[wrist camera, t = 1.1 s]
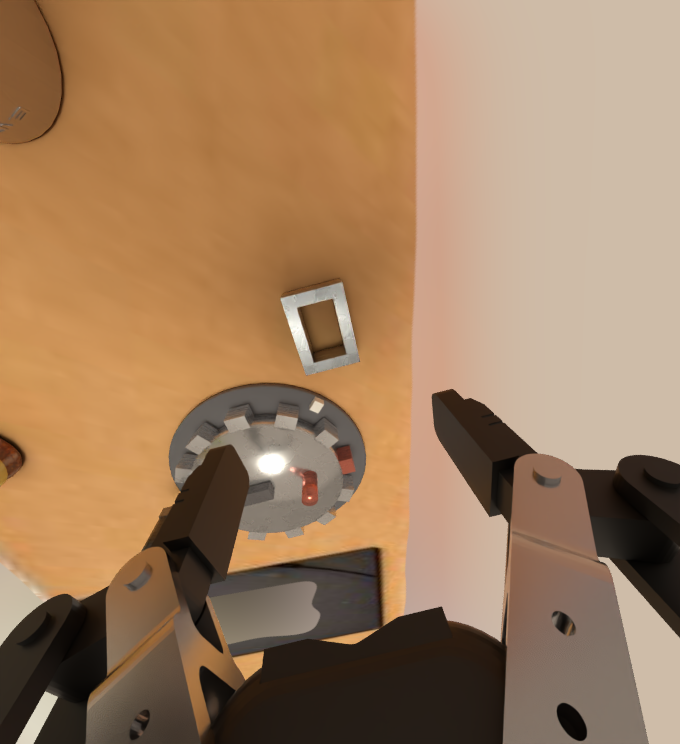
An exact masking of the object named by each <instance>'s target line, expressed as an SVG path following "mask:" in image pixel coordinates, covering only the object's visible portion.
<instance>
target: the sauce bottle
mask: <svg viewBox="0 0 680 744" xmlns="http://www.w3.org/2000/svg"><path fill="white" fill-rule="evenodd" d="M21 466H22V458H21V455H20V453H19V452H18V451H17V450H16V449H15V448H14V447H13V446H12V445H11V444H9V443H8V442H6V441H4V440H3V439H1V438H0V486H2V485H3V484H4V483H5V482H6V480H7V479H9V478H10V477H12V476H13V475H14V474H16V472H17V471H18V470H19V469H20V467H21Z"/></svg>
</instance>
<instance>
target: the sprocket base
mask: <svg viewBox="0 0 680 744" xmlns="http://www.w3.org/2000/svg"><path fill="white" fill-rule="evenodd" d="M279 403H282V404H288V405H293V406H298V407H299V412H298V419H300V420H302V421H305V422H307V423H309V424H311V425H313V426H315V425H316V424H317V423H318V422H319V421H320V420H322V419H323V418H325V419H326V420H328V421H329V422H330V423H332V424H333V425H334V426H335V427H337V431H338V438H339V441H337V442H336V443H335V444H334V445H335V446H336V448H341V447H345V446H350V449H351V453H352V456H353V460H354V465H355V470H356V471H355V472H351V473H347V474H343V475H347V476H352V480H353V486H354V492H355V491H356V490H357V488H358V486H359V484H360V483H361V480H362V478H363V475H364V471H365V466H366V454H365V448H364V444H363V440H362V437H361V434H360V432H359V430H358V428H357V427H356V425H355V423H354V422H353V421H352V419H351V418H350V417H349V415H347V414H346V413H345V412H344V411H343V410H342V409H341V408H340V407H339V406H337V405H336V404H335V403H333V402H332V401H330V400H329V399H327V398H325V397H323V396H321V395H319V394H317V393H314V392H312V391H309V390H307V389H303V388H299V387H295V386H290V385H283V384H268V383H262V384H250V385H245V386H240V387H235V388H232V389H229V390H226V391H222V392H220V393H218V394H216V395H214V396H212V397H210V398H208V399H207V400H205V401H203V402H202V403H200V404H199V405H198V406H197V407H195V408H194V409H193V410H192V411H191V412H190V413H189V414H188V415H187V416H186V418H185V419H184V420H183V421H182V423H181V424H180V426H179V427H178V429H177V431H176V432H175V434H174V436H173V439H172V442H171V445H170V451H169V466H170V470H171V474H172V477H173V479H174V481H175V468H176V466H177V465H178V463H179V461H180V460H181V458H182V456H183V455H184V453H185V454H192V455H198V454H196V453H194V452H192V451H191V450H189V449H187V448H185V447H186V445H187V444H188V442H189V440H190V439H191V437H192V435H193V434H194V433H195V432H196V431H197V430H198V429H199V428H200V427H201V426H202V425H203V424H204V423H205V422H206V423H208V424H209V425H211V426H213V427H214V428H216V429H217V430H218V429H220V428H222V427H223V426H225V423H224V422H223V421H224V419H225V417H226V415H227V413H228V411H229V409H231V408H235V407H239V406H242V405H246V404H249V405H250V407H251V409H252V411H253V414H254V416H255V415H276V414H277V410H278V406H279ZM175 484H176V485H177V487H178V488H179V490H180V491H181V489H182V487H183V485H184V483H178V482H175ZM354 492H353V494H354ZM353 494H352V495H353ZM351 497H352V496H351ZM345 503H346V501H338V500H337V501H336V503H335V510H337V509H339V508H340V507H341V506H342V505H343V504H345ZM314 522H315V521H314Z"/></svg>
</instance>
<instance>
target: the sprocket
mask: <svg viewBox="0 0 680 744" xmlns="http://www.w3.org/2000/svg"><path fill="white" fill-rule="evenodd" d="M298 412H299V407H298V406H293V405H288V404H282V403H279V406H278V410H277V414H276V415H255V416H254V414H253V411H252V409H251V407H250V405H249V404H246V405H242V406H239V407H235V408H231V409H229V411H228V413H227V415H226V417H225V419H224V421H223V422H224V423H225V426H223V427H222V428H220V429H218V430H217V429H216V428H214V427H213V426H211V425H209V424H208V423H206V422H205V423H204V424H203V425H202V426H201V427H200V428H199V429H198V430H197V431H196V432H195V433H194V434H193V435H192V437H191V439H190V440H189V442H188V444H187V445H186V447H185V448H187V449H189V450H191V451H192V452H194V453H196V454H198V455H192V454H185V453H184V455H183V456H182V458H181V460H180V461H179V463H178V465H177V466H176V468H175V482H178V483H185V481H186V479H187V478H188V477H189V476H190V474H191V473H192V472H193V471H194V470H195V469H196V468H197V467H198V466H199V465H202V463H203V461H204V459H205V457H206V455H207V453H208V451H209V450H210V449H213V448H217V447H221V446H225V445H229V444H231V445H232V446H233V447H234V448H235V450H236V452H237V453H238V455H239V457H240V459H241V461H242V462H243V464H244V466H245V468H246V470H247V472H248V475H249V489H248V493H247V497H246V501H245V505H244V509H243V513H242V517H241V521H240V524H239V528H238V529H240V530H244V531H249V535H248V539H253V540H265V536H266V533H276V532H284V531H285V533H286V535H287V536H288V538H292V537H296V536H300V535H304V526H305V525H308V524H310V523H312V522H314V521H318V522H320V523H321V524H323V525H325V524H327V523H328V522H330V521H331V520H332V519H334V518H335V517H336V510H335V503H336V501H337V500H338V501H346V502H349V501H350V499H351V496H352V494H353V492H354V486H353V480H352V476H347V475H343V474H347V473H351V472H355V471H356V470H355V465H354V460H353V456H352V453H351V449H350V446H345V447H341V448H336V446H335V445H334V444H335V443H336V442H337V441H339V438H338V431H337V427H335V426H334V425H333V424H332V423H330V422H329V421H328V420H326V419H325V418H323V419H322V420H320V421H319V422H318V423H317V424H316V425H315V426H313V425H311V424H309V423H307V422H305V421H302V420H300V419H298ZM171 508H172V506H171V507H167V508H163V510H162V512H161V514H160V516H159V520H158V522H157V524H156V526H155V527H154V529H153V531H152V533H151V535H150V536H149V538H148V540H147V542H146V544H145V546H144V547H143V549H142V551H144V550H146V549H148V548H150V547H151V545H152V543H153V542H154V540H155V538H156V536H157V534H158V532H159V530H160V528H161V526H162V525H163V523H164V521H165V519H166V517H167V515H168V513H169V511H170V510H171ZM142 551H141V552H142Z"/></svg>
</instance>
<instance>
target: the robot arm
mask: <svg viewBox="0 0 680 744" xmlns="http://www.w3.org/2000/svg"><path fill="white" fill-rule="evenodd" d="M61 96H62V83H61V71H60V66H59V61H58V56H57V51H56V48H55V46H54V43H53V40H52V37H51V34H50V32H49V29H48V26H47V24H46V23H45V21H44V19H43V17H42V15H41V13H40V11H39V9H38V7H37V5H36V3H35V1H34V0H0V142H2V143H11V144H13V143H21V142H28V141H30V140H33V139H35V138H37V137H39V136H41V135H42V134H43V133H44V132H45V131H46V130H47V129H48V128H49V127H50V126H51V125H52V123H53V121H54V119H55V117H56V115H57V114H58V111H59V106H60V101H61ZM432 406H433V418H434V427H435V431H436V434H437V436H438V438H439V441H440V442H441V444H442V445H443V447H444V448H445V450H446V451H447V453H448V454H449V456H450V457H451V459H452V460H453V462H454V463H455V465H456V466H457V468H458V469H459V471H460V473H461V474H462V476H463V477H464V479H465V480H466V482H467V483H468V485H469V486H470V488H471V489H472V491H473V492H474V494H475V495H476V497H477V498H478V500H479V501H480V503H481V504H482V506H483V507H484V509H485V511H486V512H487V514H488V515H489V517H492V516H496V515H500V514H502V515H503V516H504V518H505V519H506V520H507V522H508V534H507V552H506V569H505V586H504V601H503V612H502V628H501V642H499V641H498V640H497V639H495V638H493V637H492V636H490V635H488V634H487V633H485V632H483V631H481V630H478V629H476V628H474V627H471V626H469V625H466V624H462V623H459V622H454V621H447V619H446V617H445V614H444V611H443V609H442V607H438V608H434V609H430V610H425V611H421V612H417V613H413V614H409V615H404V616H400V617H397V618H396V619H394V620H393V621H391V622H390V623H388V624H386V625H385V626H383V627H382V628H380V629H379V630H377V631H376V632H374V633H373V634H371V635H369V636H368V637H366V638H365V639H363V640H362V641H360V642H358V643H356V644H342V643H335V642H327V641H320V640H312V639H305V640H301V641H297V642H293V643H288V644H284V645H280V646H276V647H272V648H268V649H264V656H263V664H262V668H260V669H259V670H258V671H256V672H255V673H254V674H253V675H252V676H250V677H249V678H248V679H247V680H246V681H245V679H244V677H243V675H242V673H241V672H240V670H239V669H238V667H237V666H236V664H235V662H234V660H233V658H232V656H231V654H230V651H229V649H228V646H227V643H226V641H225V638H224V635H223V632H222V630H221V627H220V624H219V622H218V619H217V616H216V614H215V611H214V608H213V606H212V603H211V600H210V598H209V597H208V596H207V594H208V590H209V587H210V584H213V583H217V582H221V581H225V579H226V575H227V571H228V567H229V563H230V560H231V556H232V552H233V548H234V544H235V540H236V536H237V532H238V528H239V524H240V521H241V517H242V513H243V509H244V505H245V501H246V497H247V493H248V489H249V475H248V472H247V470H246V468H245V466H244V464H243V462H242V461H241V459H240V457H239V455H238V453H237V452H236V450H235V448H234V447H233V446H232V445H231V444H229V445H225V446H221V447H217V448H213V449H210V450H209V451H208V453H207V455H206V457H205V459H204V461H203V463H202V465H199V466H198V467H197V468H196V469H195V470H194V471H193V472H192V473H191V474H190V476H189V477H188V478H187V479H186V481H185V483H184V485H183V487H182V489H181V493H179V494H178V496H177V498H176V500H175V504H173V506H172V508H171V510H170V511H169V513H168V515H167V517H166V519H165V521H164V523H163V525H162V526H161V528H160V530H159V532H158V534H157V536H156V538H155V540H154V542H153V543H152V545H151V547H150V548H148V549H146V550H144V551H142V552H140V553H139V554H137V555H136V556H134V557H133V558H132V559H130V560H129V561H128V562H127V563H126V564H125V565H124V566H123V567H122V568H121V569H120V571H119V572H118V573H117V574H116V576H115V577H114V579H113V580H112V582H111V584H110V586H108V587H106V588H104V589H102V590H101V591H99V592H97V593H95V594H93V595H91V596H90V597H88V598H86V599H84V600H82V601H80V602H79V601H78V600H76V599H75V598H73V597H72V596H70V595H68V594H61V595H58V596H55V597H53V598H51V599H49V600H47V601H46V602H44V603H43V604H41V605H40V606H38V607H37V608H36V609H35V610H33V611H32V612H31V613H30V614H29V615H27V616H26V617H25V618H24V619H23V620H22V621H21V622H20V623H19V624H18V625H17V626H16V627H15V628H14V630H13V631H12V632H11V633H10V634H9V636H8V637H7V638H6V640H5V641H4V642H3V644H2V645H1V646H0V744H16V742H17V740H18V738H19V736H20V735H21V733H22V731H23V729H24V728H25V726H26V724H27V722H28V720H29V719H30V717H31V715H32V713H33V712H34V710H35V708H36V706H37V704H38V703H39V701H40V699H41V697H42V696H43V694H44V692H45V691H46V692H49V693H51V694H53V695H55V696H58V699H57V701H56V703H55V704H54V706H53V708H52V710H51V712H50V714H49V716H48V718H47V719H46V721H45V723H44V725H43V727H42V729H41V731H40V733H39V735H38V737H37V738H36V740H35V742H34V744H649V743H648V739H647V734H646V729H645V724H644V721H643V715H642V711H641V706H640V702H639V697H638V692H637V688H636V683H635V679H634V674H633V669H632V665H631V660H630V656H629V652H628V647H627V642H626V637H625V633H624V628H623V624H622V619H621V615H620V610H619V605H618V601H617V596H616V592H615V587H614V583H613V579H612V575H611V573H610V570H609V568H608V566H607V565H606V564H605V563H603V562H600V561H599V560H598V557H606V558H610V560H611V561H612V562H613V563H614V564H615V565H616V566H617V567H618V569H619V570H620V571H621V572H622V573H623V574H624V575H625V576H626V578H627V579H628V580H629V581H630V582H631V583H632V584H633V586H634V587H635V588H636V589H637V590H638V591H639V592H640V593H641V595H642V596H643V597H644V598H645V599H646V600H647V601H648V602H649V604H650V605H651V606H652V607H653V608H654V609H655V610H656V611H657V613H658V614H659V615H660V616H661V617H662V618H663V619H664V621H665V622H666V623H667V624H668V625H669V626H670V627H671V628H672V630H673V631H674V632H675V633H676V634H677V635H678V636H679V637H680V465H679V464H677V463H674V462H671V461H668V460H665V459H662V458H658V457H653V456H646V455H633V456H628V457H625V458H623V459H621V460H620V461H619V463H618V466H617V469H616V470H615V471H614V470H582V469H574V468H573V467H572V466H571V465H569V464H568V463H566V462H564V461H563V460H561V459H558V458H556V457H553V456H549V455H545V454H538V453H537V452H535V451H534V450H533V449H532V448H531V447H530V446H529V445H528V444H527V443H526V442H525V441H523V440H522V439H521V438H520V437H519V436H518V435H517V434H516V433H515V432H514V431H513V430H511V429H510V428H509V427H508V426H507V425H506V424H505V423H503V422H502V420H501V419H500V418H498V417H497V416H496V415H494V413H493V412H492V411H491V410H490V409H489V408H487V407H486V406H485V405H484V404H482V403H480V402H478V401H476V400H473V399H471V398H469V399H465V400H464V399H463V398H462V397H461V396H460V395H459V394H458V393H457V392H456V391H455V390H453V389H450V390H446V391H442V392H438V393H434V394H432ZM597 556H598V557H597Z"/></svg>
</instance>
